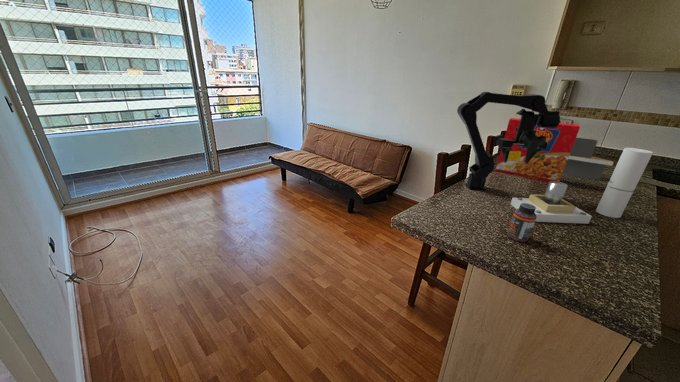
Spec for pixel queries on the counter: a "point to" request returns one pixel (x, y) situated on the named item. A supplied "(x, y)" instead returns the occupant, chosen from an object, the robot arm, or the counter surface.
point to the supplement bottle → (522, 222)
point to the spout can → (555, 192)
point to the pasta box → (540, 153)
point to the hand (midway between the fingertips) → (515, 163)
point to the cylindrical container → (623, 181)
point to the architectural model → (585, 160)
